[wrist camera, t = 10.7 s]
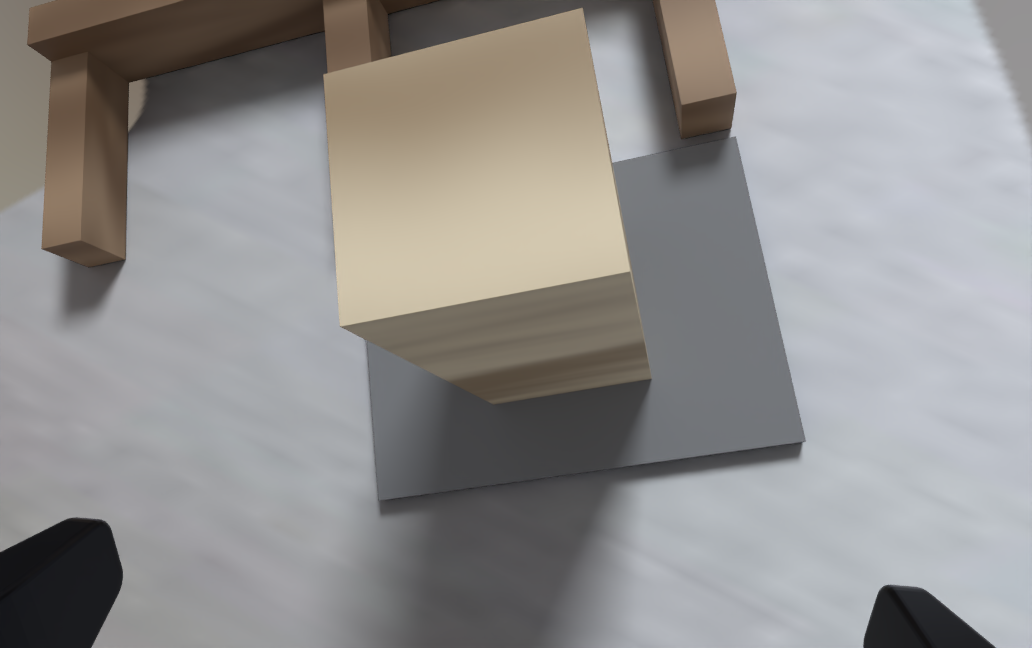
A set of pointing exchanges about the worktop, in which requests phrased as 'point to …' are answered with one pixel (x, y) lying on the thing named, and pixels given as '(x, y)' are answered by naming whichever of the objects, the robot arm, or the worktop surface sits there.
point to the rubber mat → (669, 342)
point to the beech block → (485, 214)
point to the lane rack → (239, 28)
